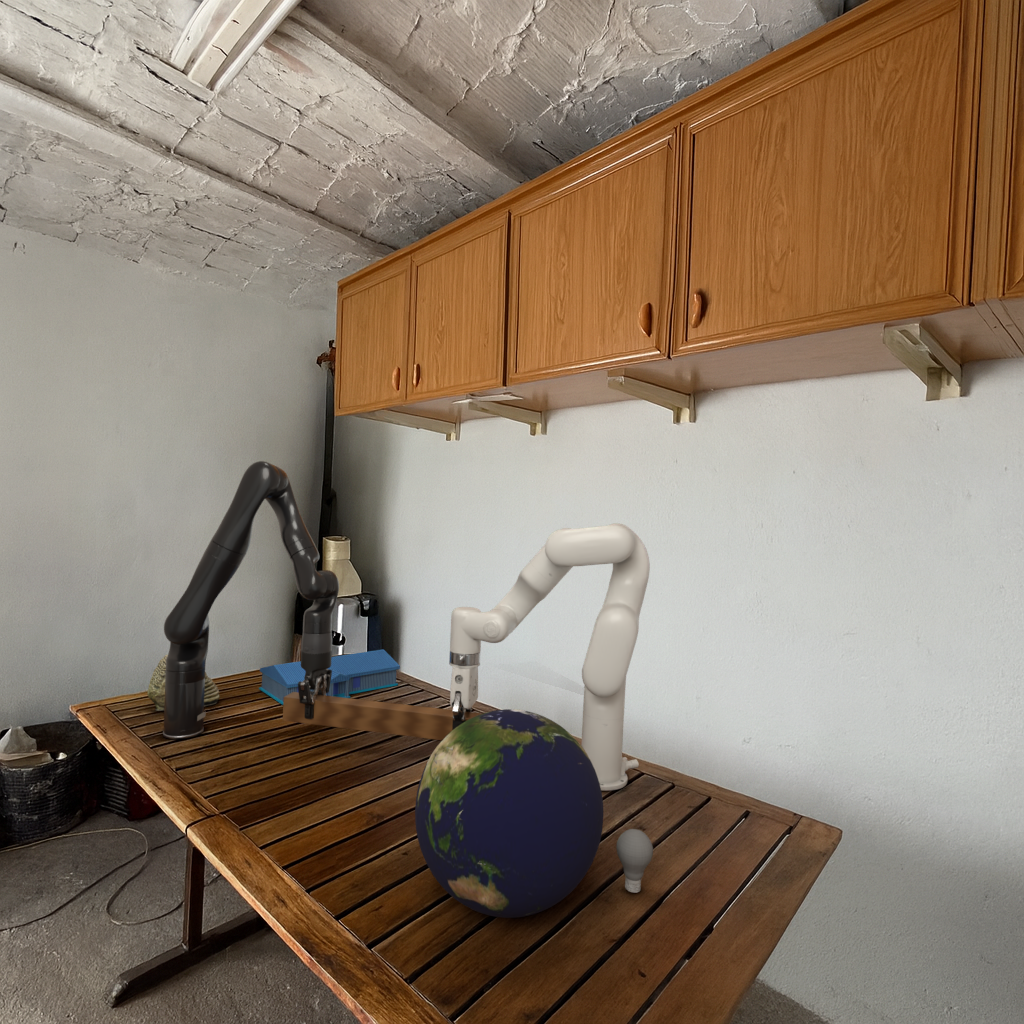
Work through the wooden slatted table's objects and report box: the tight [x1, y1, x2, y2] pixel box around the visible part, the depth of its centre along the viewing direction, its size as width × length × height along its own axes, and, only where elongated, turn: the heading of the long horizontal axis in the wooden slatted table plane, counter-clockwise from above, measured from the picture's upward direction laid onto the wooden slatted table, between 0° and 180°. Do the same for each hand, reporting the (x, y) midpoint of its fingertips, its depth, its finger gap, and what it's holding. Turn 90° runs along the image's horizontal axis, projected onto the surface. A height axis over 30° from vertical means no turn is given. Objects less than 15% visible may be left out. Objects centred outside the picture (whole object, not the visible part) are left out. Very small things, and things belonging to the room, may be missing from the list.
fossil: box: [147, 654, 221, 712], centre depth 185 cm, size 9×18×15 cm, turn 132°
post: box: [282, 692, 483, 741], centre depth 159 cm, size 54×5×6 cm, turn 79°
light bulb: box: [615, 828, 654, 894], centre depth 106 cm, size 6×6×10 cm
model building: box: [258, 649, 401, 706], centre depth 208 cm, size 39×24×10 cm, turn 132°
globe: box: [414, 708, 604, 919], centre depth 101 cm, size 30×30×30 cm
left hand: (314, 714), depth 162 cm, fingers closed on post, 4 cm apart
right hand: (461, 731), depth 155 cm, fingers closed on post, 4 cm apart
